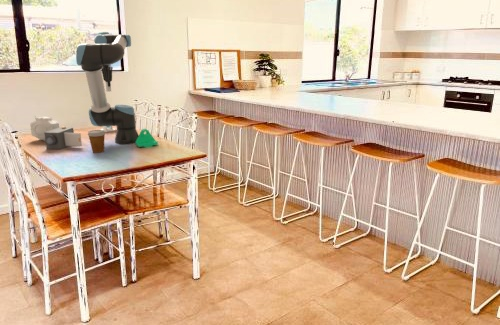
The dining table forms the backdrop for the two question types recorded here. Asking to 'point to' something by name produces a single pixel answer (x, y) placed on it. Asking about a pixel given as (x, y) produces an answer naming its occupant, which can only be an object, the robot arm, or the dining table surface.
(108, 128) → the white piece
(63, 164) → the dining table surface
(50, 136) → the box
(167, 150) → the dining table surface
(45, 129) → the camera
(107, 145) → the dining table surface
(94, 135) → the disposable coffee cup
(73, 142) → the side door
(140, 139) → the green triangular piece
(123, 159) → the dining table surface
